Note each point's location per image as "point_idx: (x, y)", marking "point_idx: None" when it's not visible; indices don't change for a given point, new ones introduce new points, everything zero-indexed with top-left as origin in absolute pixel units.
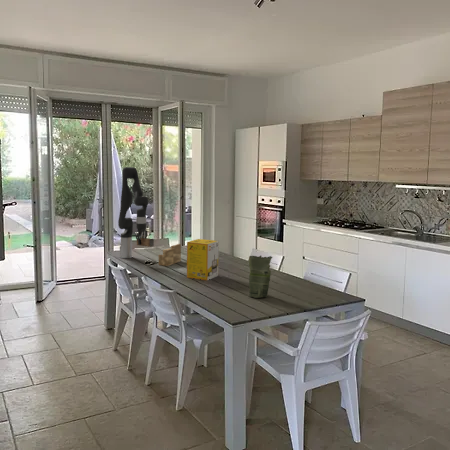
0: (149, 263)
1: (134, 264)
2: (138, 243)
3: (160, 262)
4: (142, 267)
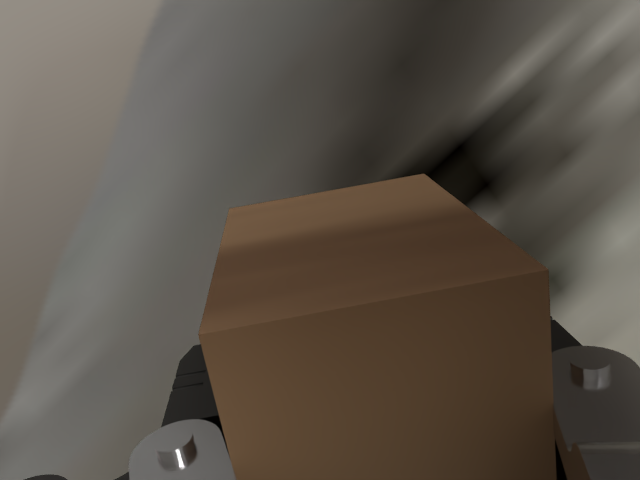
0: None
1: (210, 103)
2: (181, 377)
3: None
4: (146, 354)
